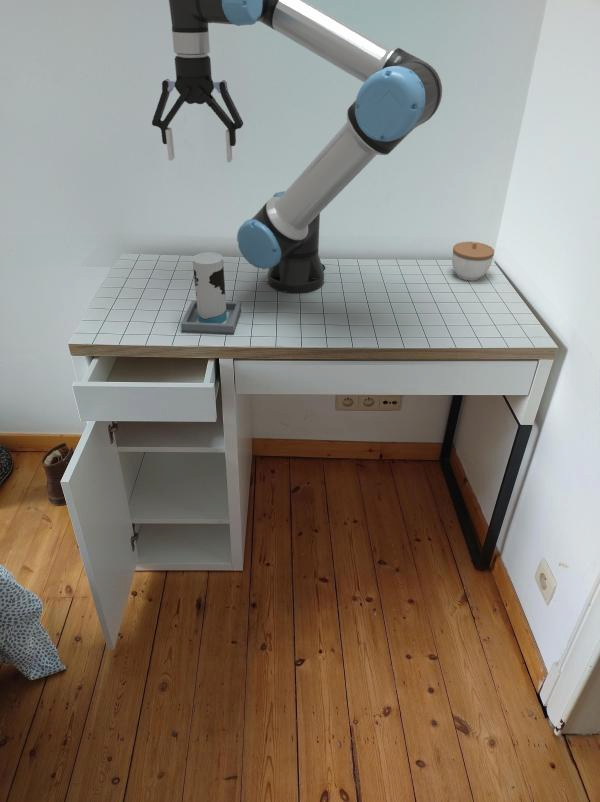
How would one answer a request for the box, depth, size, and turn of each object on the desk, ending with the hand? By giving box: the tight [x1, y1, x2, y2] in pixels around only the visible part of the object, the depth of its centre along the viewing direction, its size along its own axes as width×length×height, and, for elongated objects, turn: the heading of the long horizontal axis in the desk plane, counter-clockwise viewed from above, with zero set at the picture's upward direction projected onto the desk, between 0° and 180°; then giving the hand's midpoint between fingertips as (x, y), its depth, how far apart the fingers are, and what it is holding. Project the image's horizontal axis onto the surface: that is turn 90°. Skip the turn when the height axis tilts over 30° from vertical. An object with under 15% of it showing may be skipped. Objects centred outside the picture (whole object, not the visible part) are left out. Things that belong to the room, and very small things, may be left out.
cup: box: [192, 251, 227, 323], centre depth 139 cm, size 7×7×15 cm
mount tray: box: [180, 299, 242, 336], centre depth 143 cm, size 12×12×2 cm
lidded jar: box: [451, 241, 495, 281], centre depth 163 cm, size 11×11×9 cm
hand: (200, 159), depth 141 cm, fingers open, 13 cm apart
